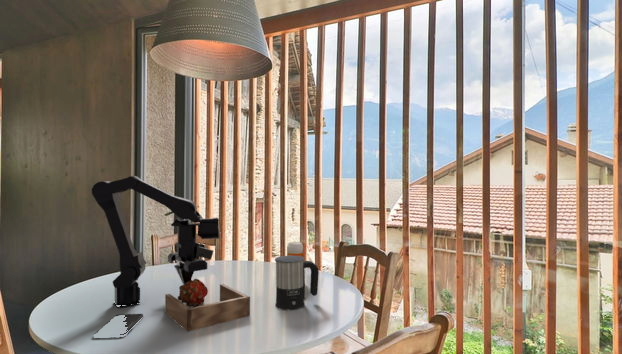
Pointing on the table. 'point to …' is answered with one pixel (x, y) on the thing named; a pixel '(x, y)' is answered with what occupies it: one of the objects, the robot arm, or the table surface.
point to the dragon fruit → (192, 292)
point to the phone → (131, 320)
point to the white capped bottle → (295, 249)
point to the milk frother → (293, 281)
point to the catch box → (209, 309)
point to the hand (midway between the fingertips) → (186, 287)
